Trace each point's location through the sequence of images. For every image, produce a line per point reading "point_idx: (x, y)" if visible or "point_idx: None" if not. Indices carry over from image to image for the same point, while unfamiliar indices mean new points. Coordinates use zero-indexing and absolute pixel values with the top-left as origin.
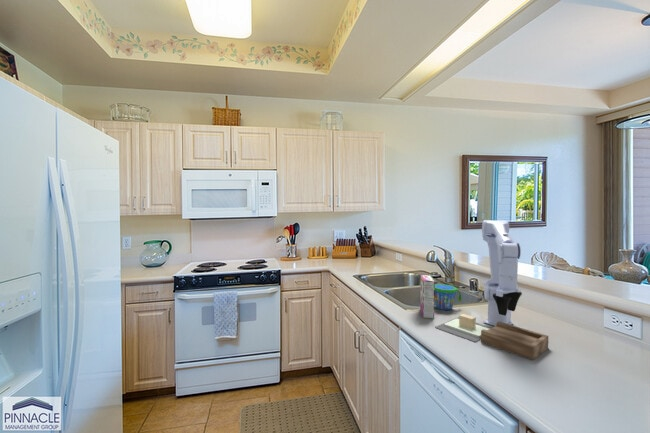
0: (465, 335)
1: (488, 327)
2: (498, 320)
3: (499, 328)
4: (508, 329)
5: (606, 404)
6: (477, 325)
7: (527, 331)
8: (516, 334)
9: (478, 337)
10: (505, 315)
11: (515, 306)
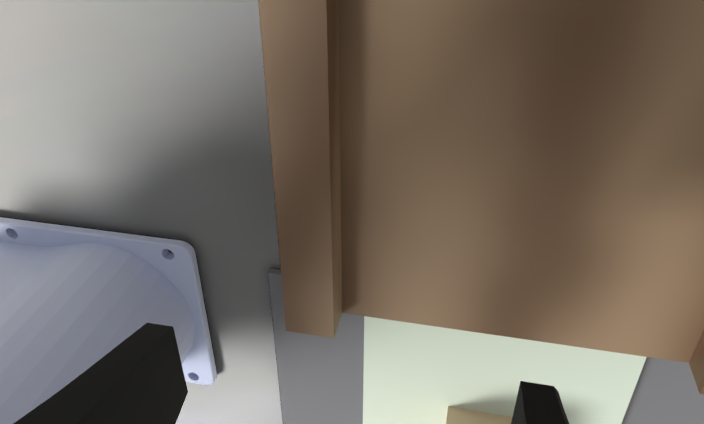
0: (665, 419)
1: (295, 332)
2: (157, 323)
3: (407, 276)
4: (355, 205)
5: None
6: (377, 404)
7: (328, 7)
8: (450, 98)
9: None
10: (542, 384)
11: (112, 383)
